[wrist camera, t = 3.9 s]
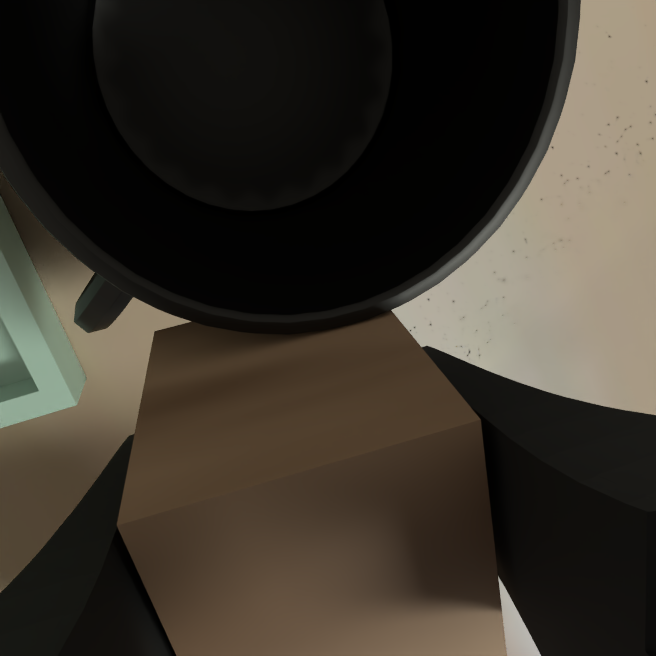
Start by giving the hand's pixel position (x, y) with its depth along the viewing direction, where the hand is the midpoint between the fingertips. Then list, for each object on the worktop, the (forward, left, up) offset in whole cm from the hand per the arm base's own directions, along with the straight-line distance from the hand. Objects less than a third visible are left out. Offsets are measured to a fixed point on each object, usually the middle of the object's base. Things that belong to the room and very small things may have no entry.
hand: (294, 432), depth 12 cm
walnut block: (0, 0, -2) cm, 2 cm away
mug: (+6, -1, -9) cm, 11 cm away
